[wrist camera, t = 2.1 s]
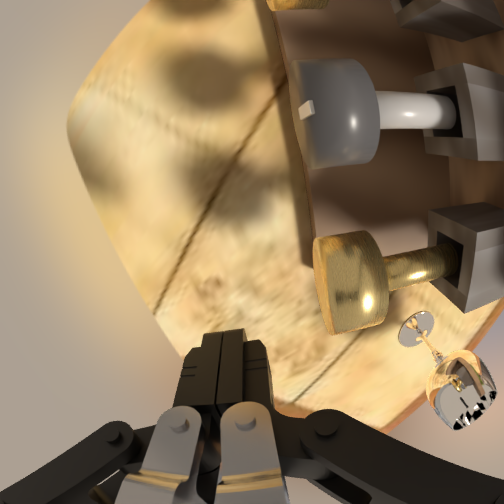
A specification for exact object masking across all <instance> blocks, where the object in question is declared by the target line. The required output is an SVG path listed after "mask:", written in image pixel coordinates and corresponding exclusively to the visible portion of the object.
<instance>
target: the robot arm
mask: <svg viewBox="0 0 504 504" xmlns="http://www.w3.org/2000/svg"><path fill="white" fill-rule="evenodd" d="M180 376H181V378H180V379H179V383H178V387H177V391H176V395H175V399H174V403H173V407H172V408H171V409H169V410H167V411H165V412H164V413H163V414H162V415H161V416H160V418H159V420H158V421H157V424H156V425H153V426H149V427H145V428H141V429H137V430H133V429H132V428H131V427H130V425H128V424H127V423H125V422H122V421H113V422H109V423H107V424H105V425H104V426H102V427H101V428H99V429H98V430H97V431H95V432H94V433H92V434H91V435H89V436H88V437H86V438H85V439H84V440H82V441H81V442H79V443H78V444H76V445H75V446H73V447H72V448H70V449H69V450H67V451H66V452H64V453H63V454H61V455H60V456H58V457H57V458H55V459H54V460H52V461H51V462H49V463H47V464H46V465H44V466H43V467H41V468H39V469H38V470H36V471H35V472H33V473H31V474H30V475H28V476H27V477H25V478H23V479H22V480H20V481H18V482H17V483H15V484H13V485H11V486H10V487H8V488H6V489H4V490H3V491H1V492H0V504H290V500H289V495H288V490H287V486H286V481H285V476H288V477H295V478H304V479H307V480H308V481H309V482H310V483H312V484H313V485H315V486H317V487H318V488H319V489H321V490H322V491H324V492H325V493H327V494H328V495H330V496H331V497H333V498H335V499H336V500H338V501H340V502H341V503H343V504H504V480H502V479H499V478H495V477H492V476H489V475H485V474H482V473H479V472H476V471H473V470H470V469H467V468H464V467H461V466H459V465H456V464H453V463H450V462H448V461H445V460H443V459H440V458H437V457H435V456H433V455H430V454H428V453H425V452H423V451H421V450H418V449H416V448H414V447H411V446H409V445H407V444H405V443H403V442H400V441H398V440H396V439H394V438H392V437H390V436H388V435H386V434H384V433H382V432H379V431H377V430H375V429H373V428H371V427H369V426H368V425H366V424H364V423H362V422H360V421H358V420H356V419H354V418H352V417H350V416H348V415H347V414H345V413H343V412H341V411H338V410H333V409H324V410H319V411H316V412H313V413H312V414H310V415H308V416H307V417H306V418H305V419H304V418H293V417H288V416H285V415H282V414H280V413H279V412H277V411H276V410H275V405H274V396H273V386H272V376H271V371H270V366H269V361H268V356H267V351H266V347H265V346H264V345H263V343H262V342H261V341H260V340H252V341H247V337H246V333H245V330H244V328H242V329H235V330H228V331H221V332H213V333H205V334H204V335H203V339H202V344H201V347H196V348H192V349H191V350H190V352H189V353H188V354H187V355H186V357H185V359H184V363H183V369H182V371H181V375H180ZM117 470H120V471H119V472H117V473H116V474H114V475H113V476H111V477H110V478H109V479H107V480H106V481H104V482H103V483H102V484H100V485H97V484H99V483H100V482H102V481H103V480H104V479H106V478H107V477H109V476H110V475H112V474H113V473H114V472H116V471H117ZM96 485H97V486H96Z"/></svg>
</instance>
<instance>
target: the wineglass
mask: <svg viewBox="0 0 504 504" xmlns="http://www.w3.org/2000/svg"><path fill="white" fill-rule="evenodd" d="M433 326H434V317H433V315H432V314H431V313H429V312H426V311H424V312H419V313H417V314H415V315H413V316H412V317H410V318H409V319H408V320H407V321H406V322H405V324H404V325H403V327H402V328H401V330H400V334H399V341H400V343H401V344H402V345H403V346H405V347H413V346H416V345H418V344H420V343H421V342H424V343H425V344H426V346H427V347H428V348H429V350H430V353H431V355H432V358H433V360H434V361H435V362H436V363H437V364H436V365H435V366H434V368H433V369H432V371H431V372H430V374H429V376H428V379H427V383H426V394H427V398H428V400H429V403H430V405H431V407H432V408H433V410H434V411H435V412H436V414H437V415H438V416H439V417H440V418H441V419H442V421H443V422H444V423H445V424H446V425H448V426H449V427H450V428H451V429H452V430H454V431H457V430H461V429H463V428H465V427H467V426H468V425H470V424H471V423H473V422H474V421H475V420H477V419H478V418H479V417H480V416H481V415H482V414H483V413H484V412H485V411H486V410H487V409H488V408H489V407H490V406H491V404H492V403H493V402H494V399H495V398H496V396H497V389H496V386H495V383H494V381H493V378H492V376H491V374H490V372H489V370H488V369H487V367H486V365H485V364H484V362H483V361H482V360H481V359H480V358H479V357H478V356H477V355H476V354H475V353H473V352H471V351H468V350H457V351H454V352H451V353H449V354H448V355H446V356H445V357H443V354H442V353H441V352H440V351H439V350H437V349H436V348H435V347H433V346H432V345H431V343H430V342H429V341H428V340H427V337H428V336H429V334H430V333H431V331H432V329H433Z"/></svg>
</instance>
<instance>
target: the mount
mask: <svg viewBox="0 0 504 504" xmlns="http://www.w3.org/2000/svg"><path fill="white" fill-rule="evenodd" d="M271 13H272V17H273V20H274V24H275V28H276V32H277V36H278V40H279V44H280V48H281V53H282V57H283V61H284V66H285V70H286V75H287V80H288V84H289V69H290V65H291V63H292V61H294V60H305V59H333V58H347V59H354V60H356V61H358V62H359V63H360V64H361V65H362V66H363V67H364V68H365V70H366V71H367V73H368V75H369V77H370V79H371V81H372V83H373V86H374V89H375V91H395V92H412V93H424V94H434V95H443V96H447V97H448V98H450V99H451V101H452V102H453V104H454V106H455V109H456V122H455V125H454V126H453V127H452V128H451V129H380V137H379V143H378V147H377V150H376V153H375V155H374V157H373V158H372V159H371V161H369V162H368V163H365V164H354V165H345V166H336V167H328V168H320V169H310V168H309V167H308V166H307V165H306V163H305V161H304V159H303V156H302V162H303V168H304V175H305V182H306V189H307V196H308V204H309V211H310V219H311V228H312V237H313V242H314V239H315V238H318V237H324V236H330V235H336V234H342V233H348V232H354V231H360V230H365V231H367V232H369V233H370V234H371V235H372V237H373V238H374V239H375V241H376V243H377V245H378V247H379V249H380V251H381V254H382V257H384V256H389V255H394V254H398V253H403V252H408V251H413V250H417V249H422V248H427V247H431V246H436V245H440V244H445V243H450V244H451V245H452V246H453V247H454V248H455V250H456V252H457V255H458V268H457V270H456V272H455V273H454V274H452V275H448V276H445V277H441V278H438V279H434V280H431V281H429V282H430V283H431V284H432V285H434V286H435V287H436V288H437V289H438V290H439V291H440V292H441V293H442V294H444V295H445V296H446V297H447V298H448V299H449V300H450V301H451V302H452V303H453V304H454V305H456V306H457V307H458V308H459V309H460V310H461V311H462V312H463V313H464V314H465V313H467V312H470V311H472V310H475V309H477V308H479V307H482V306H484V305H486V304H488V303H491V302H493V301H495V300H497V299H500V298H502V297H504V0H330V1H329V3H328V5H327V6H326V7H325V8H324V9H302V10H280V11H272V10H271ZM301 155H302V154H301Z"/></svg>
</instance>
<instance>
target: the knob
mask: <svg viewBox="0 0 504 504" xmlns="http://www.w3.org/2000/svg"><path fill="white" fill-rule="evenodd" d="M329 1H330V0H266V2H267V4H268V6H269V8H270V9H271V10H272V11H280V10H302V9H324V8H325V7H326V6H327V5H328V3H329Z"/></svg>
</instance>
